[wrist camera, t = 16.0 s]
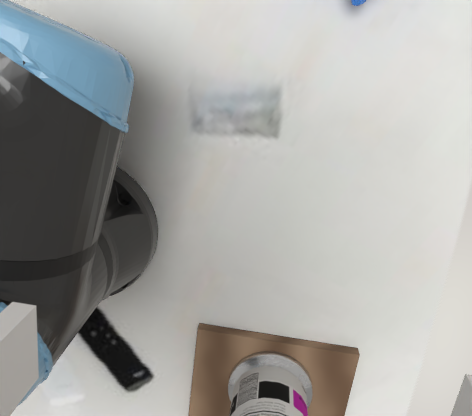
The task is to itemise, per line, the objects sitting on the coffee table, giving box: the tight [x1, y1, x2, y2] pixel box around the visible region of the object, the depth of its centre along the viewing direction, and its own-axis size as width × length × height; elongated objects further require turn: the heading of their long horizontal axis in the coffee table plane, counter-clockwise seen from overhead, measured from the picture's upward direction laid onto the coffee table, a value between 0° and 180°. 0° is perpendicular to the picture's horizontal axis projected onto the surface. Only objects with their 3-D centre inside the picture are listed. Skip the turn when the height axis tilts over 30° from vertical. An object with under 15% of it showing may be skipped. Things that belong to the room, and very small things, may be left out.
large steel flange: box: [228, 351, 312, 409], centre depth 50 cm, size 10×10×1 cm
